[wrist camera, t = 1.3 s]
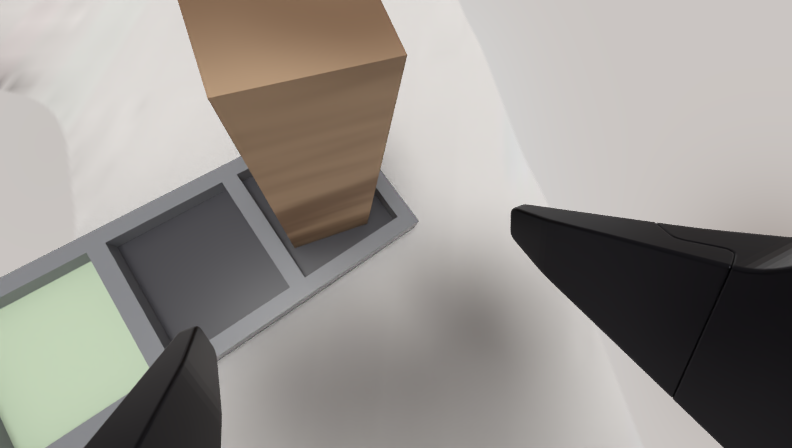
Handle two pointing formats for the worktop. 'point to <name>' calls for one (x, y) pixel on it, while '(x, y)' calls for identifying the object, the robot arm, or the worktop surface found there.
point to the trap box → (159, 297)
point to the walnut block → (303, 100)
